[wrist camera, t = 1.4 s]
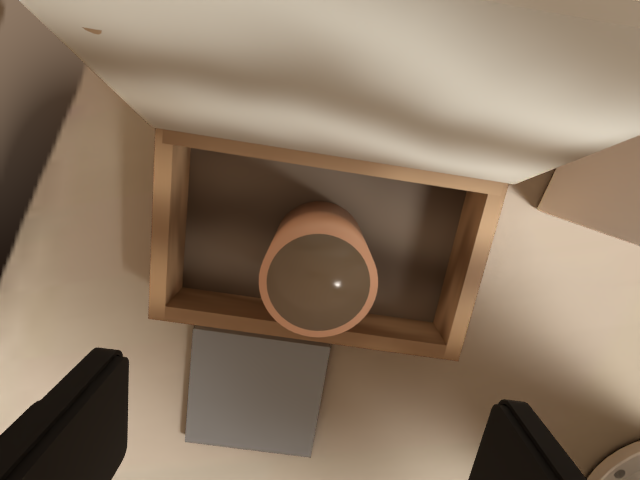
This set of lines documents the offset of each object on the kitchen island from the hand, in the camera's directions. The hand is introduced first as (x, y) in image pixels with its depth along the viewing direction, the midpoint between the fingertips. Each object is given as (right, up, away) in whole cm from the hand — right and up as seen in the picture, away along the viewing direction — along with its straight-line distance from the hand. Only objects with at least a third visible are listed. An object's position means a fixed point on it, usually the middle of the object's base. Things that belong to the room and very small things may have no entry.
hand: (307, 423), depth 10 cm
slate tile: (-5, -7, +20) cm, 22 cm away
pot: (0, +4, +16) cm, 17 cm away
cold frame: (+1, +7, +16) cm, 17 cm away
